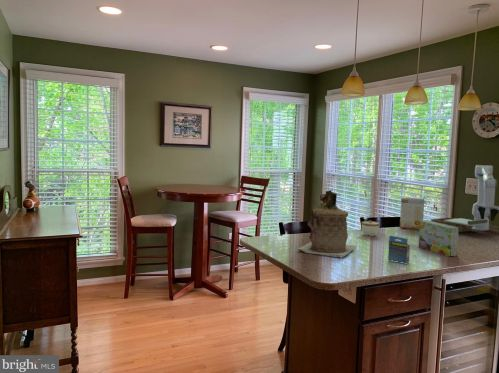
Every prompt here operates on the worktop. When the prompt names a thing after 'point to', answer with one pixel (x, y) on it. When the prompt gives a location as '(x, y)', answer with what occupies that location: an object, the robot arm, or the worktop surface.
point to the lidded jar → (370, 228)
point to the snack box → (438, 237)
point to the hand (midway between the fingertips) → (487, 219)
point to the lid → (467, 221)
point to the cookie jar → (328, 229)
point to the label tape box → (398, 249)
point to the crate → (453, 224)
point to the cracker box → (411, 212)
